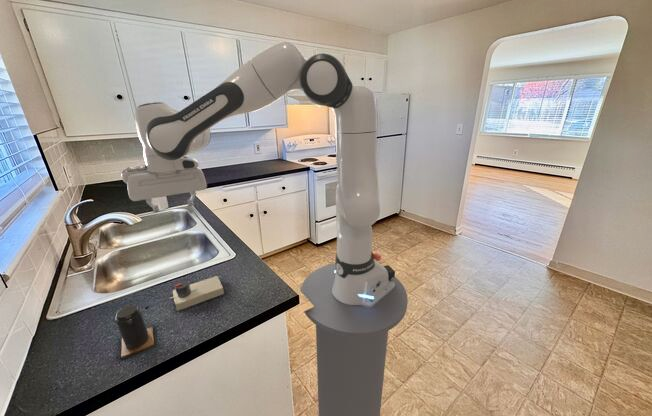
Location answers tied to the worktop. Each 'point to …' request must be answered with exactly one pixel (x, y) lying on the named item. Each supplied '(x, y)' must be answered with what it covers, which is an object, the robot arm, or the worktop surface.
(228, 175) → the worktop surface
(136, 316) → the jar
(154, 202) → the milk
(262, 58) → the robot arm
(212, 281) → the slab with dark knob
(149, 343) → the trivet
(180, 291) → the knob
